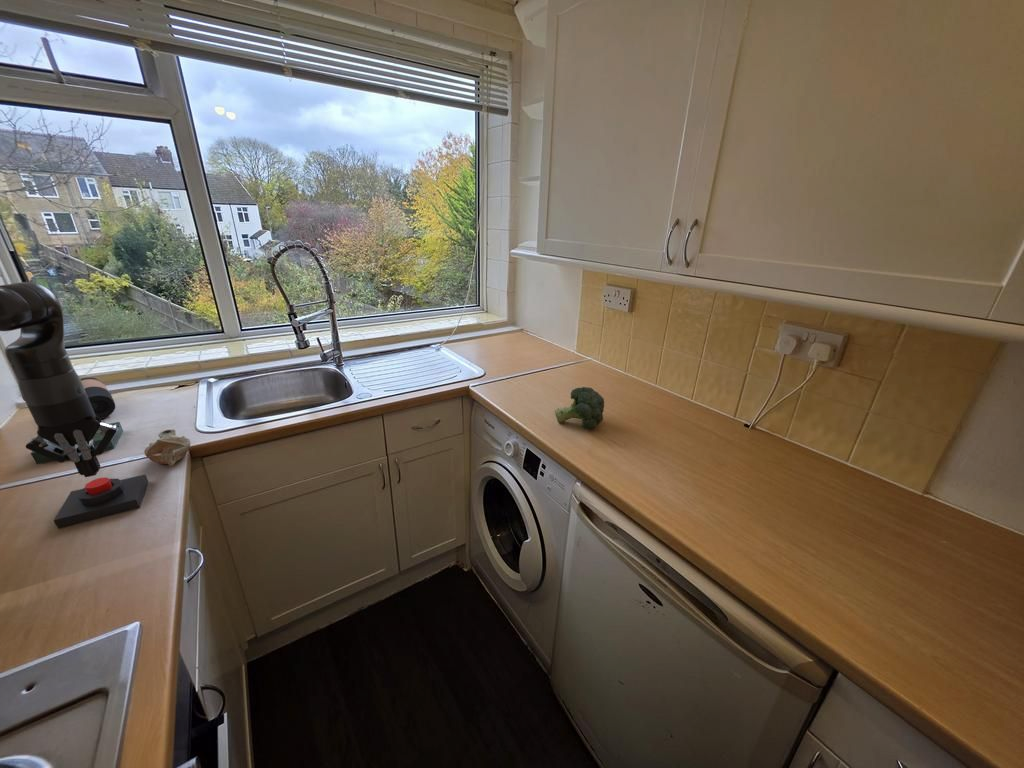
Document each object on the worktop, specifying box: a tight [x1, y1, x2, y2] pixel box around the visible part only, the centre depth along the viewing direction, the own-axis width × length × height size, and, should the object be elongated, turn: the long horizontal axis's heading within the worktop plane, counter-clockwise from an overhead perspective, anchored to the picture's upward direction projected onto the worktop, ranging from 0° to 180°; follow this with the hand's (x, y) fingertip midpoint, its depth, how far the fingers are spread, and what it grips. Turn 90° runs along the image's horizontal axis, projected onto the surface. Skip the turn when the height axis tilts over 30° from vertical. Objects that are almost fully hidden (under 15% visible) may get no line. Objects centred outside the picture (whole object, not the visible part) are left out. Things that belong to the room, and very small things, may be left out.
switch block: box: [53, 473, 150, 530], centre depth 83 cm, size 12×10×4 cm
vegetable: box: [554, 386, 605, 431], centre depth 117 cm, size 12×13×15 cm
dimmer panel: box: [30, 421, 124, 465], centre depth 103 cm, size 14×10×3 cm
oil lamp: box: [143, 429, 191, 467], centre depth 98 cm, size 9×21×10 cm, turn 39°
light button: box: [84, 476, 112, 495], centre depth 82 cm, size 4×4×2 cm
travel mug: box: [80, 377, 116, 419], centre depth 121 cm, size 8×8×20 cm
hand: (91, 474), depth 81 cm, fingers closed
